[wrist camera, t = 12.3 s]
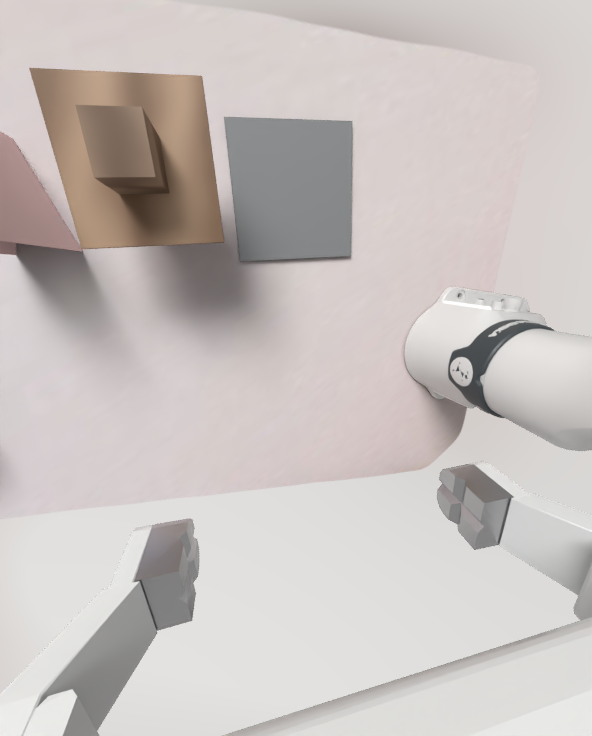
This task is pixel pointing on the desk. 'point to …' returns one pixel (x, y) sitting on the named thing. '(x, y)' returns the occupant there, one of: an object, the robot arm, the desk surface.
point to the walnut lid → (132, 156)
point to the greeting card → (27, 206)
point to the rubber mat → (290, 187)
